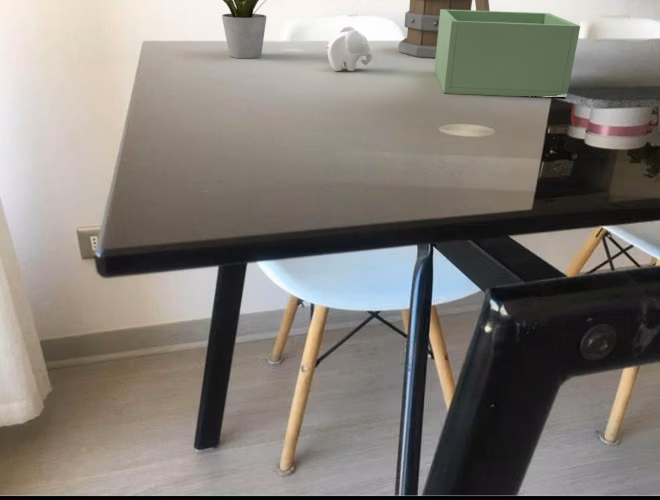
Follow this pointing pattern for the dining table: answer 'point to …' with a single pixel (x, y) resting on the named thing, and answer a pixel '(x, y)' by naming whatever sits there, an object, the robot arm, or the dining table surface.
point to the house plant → (244, 29)
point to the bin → (504, 53)
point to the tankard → (430, 24)
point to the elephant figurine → (347, 49)
